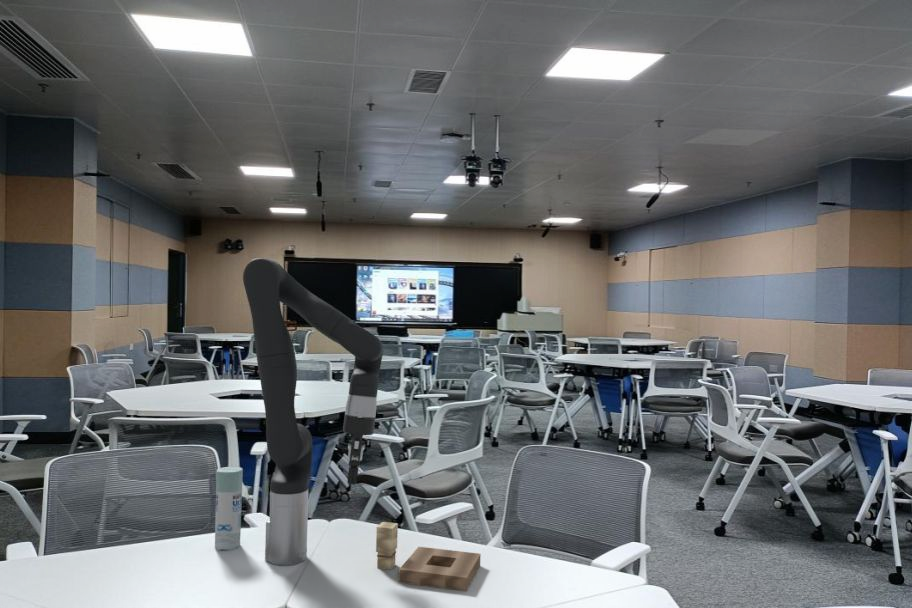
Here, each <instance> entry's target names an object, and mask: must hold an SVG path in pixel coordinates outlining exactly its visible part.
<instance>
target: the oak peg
mask: <svg viewBox="0 0 912 608" xmlns="http://www.w3.org/2000/svg"><path fill="white" fill-rule="evenodd" d="M398 528H399V524H398V523H397V522H387V521H382V522H381V523H379V524H378V525H377V526H376V539H375V540H376V541H375V542H376V543H375V553H377V555H376V557H377V564H376V565H377V566H376V567H377V569H381V570H390V571H391V570H392V569H393V568H394V566H395V565H396V555H397V554H396V553H397V550H396V549H398V532H399V531H398Z"/></svg>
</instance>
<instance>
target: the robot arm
mask: <svg viewBox="0 0 912 608" xmlns="http://www.w3.org/2000/svg"><path fill="white" fill-rule="evenodd" d="M242 281H243V286H244V290H245V294H246V297H247V302H248V305H249V309H250V314H251V320H252V329H253V330H252V332H253V339H254V345H255V346H254V347H255V355H256V361H257V362H256V363H257V368H258V374H259V380H260V387H261V393H262V399H263V404H264V412H265V413H264V414H265V431H266V434H265V435H266V447H267V452H268V456H269V457H270V459H271V461H273V462H274V463H275V468H274V472H273V475H272V477H271V479H270V486H269V487H270V489H269V491H270V493H269V520H267V521H266V523H265V544H264V545H265V548H264V551H265V552H264V555H265V556H264V561H266V562H269V563H271V564H273V565H276V566H292V565H297V564H300V563H302V562H304V561H306V560H307V556H308V554H307V553H308V523H309V522H308V520H309V519H308V517H309V516H308V515H309V482H310V478H311V474H312V464H313V445H314V444H313V437H312V434H311V431H310V430H309V429H308V428H307V427H306V426H305V425H303V424H301V423H298V422H297V421H298V420H297V416H296V409H295V399H296V390H297V389H296V388H297V381H298V368H297V358H296V353H295V351H296V350H295V347H294V343H293V339H292V337H291V334H290V332H289V329H288V327H287V325H286V322H285V320H284V317H283V314H282V313H283V312H282V309H281V303H282V304H284V305H286V306H287V307H289V308H290V309H292V310H293V311H294V312H296V314H297V315H300V317H301V318H302V319H304V320H305V321H306V322H307V323H308V324H309V325H310V326H312V328H314V329H315V330H316V331H318V332H320V334H322V335H324V336H325V337H327V338H328V339H330V340H331V341H333V342H334V343H337V344H339V345H340V346H341V347H342V348H343V349H345V350H346V351H348V353H350V354H351V355H352V356H353V357H354V364H353V372H352V374H351V377H350V380H349V381H350V382H349V388H348V396H347V400H346V403H345V411H344V419H343V428H342V431H343V433H345V434H348V435H349V434H350V435H352V436H351V437H352V439H351V440H348V446H347V449H348V455H347V459H348V461H349V462H348V474H347V484H348V485H357V482H358V476H359V475H358V474H359V468H360V466H361V463H360V462H361V461H362V460H363V453H364V450H365V445H366V441H364V440H363V439H364V436H372V435H373V434H374V430H375V425H376V413H377V400H378V389H379V375H380V370H381V365H382V360H383V354H384V347H383V346H384V345H383V342H382V341H381V339H380V338H379V337H378V336H376V335H375V334H373V333H372V332H370V331H368V330H367V329H365V328H363V327H362V326H360V325H359V324H357V323H355V322H354V321H353V320H352V319H351V318H350V317H348V316H347V315H345V314H344V313H342V312H341V311H340V310H339V309H337V308H335V307H334V306H332V305H331V304H329V303H328V302H326V301H324V300H323V299H322V298H319V296H317V295H315V294H314V293H312V292H311V291H309V290H308V289H307V288H306V287H304V286H303V285H302V284H300V283H299V282H298V281H297V280H296V279H295V278H294V277H293V276H292V275H291V274H290V273H289V272H288V271H286V269H285V268H284V267H283V266H282V265H281V263H278V262H276V261H274V260H271V259H267V258H264V257H259V258H258V257H257V258H254V259H251V260H250V261H249V262H248V263H247V264H246V265H245V267H244V270H243V274H242Z"/></svg>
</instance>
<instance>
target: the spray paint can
mask: <svg viewBox="0 0 912 608" xmlns="http://www.w3.org/2000/svg"><path fill="white" fill-rule="evenodd" d="M243 470H244V469H243V468H242V467H240V466H225V467H224V466H223V467H219V468H217V469H216V472H215V473H216V478H215V479H216V480H215V481H216V482H215V517H214V518H215V521H214V523H215V524H214V525H215V527H214V528H215V529H214V531H215V532H214V533H215V534H214V548H215V549H216V551H217V550H218V551H233V550H235V549H238V548H240V545H241V534H242V533H241V530H242V529H241V528H242V527H241V526H242V501H243V500H242V499H243V474H244V473H243Z"/></svg>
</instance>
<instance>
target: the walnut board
mask: <svg viewBox="0 0 912 608" xmlns="http://www.w3.org/2000/svg"><path fill="white" fill-rule="evenodd" d="M481 556H482V555H481V553H477V552H469V551H462V550H461V551H460V550H459V551H458V550H451V549H442V548H434V547H427V546H418V547H417V548H416V549H415V550H414V551H413V552H412V554H411V555H410V556H409V557H408V558H407V559H406V561H405V562H404V563H403V564H402V565H401V567H400V568H399V569H398V583H401V584H402V583H403V584H410V585H415V586H417V585H418V586H424V587H432V588H439V589H447V590H456V591H462V592H468V589H469V588H470V586H471V584H472V582H473V580H474V578H475V577H476V574H477V573H478V571H479V569H480V568H481Z"/></svg>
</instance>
